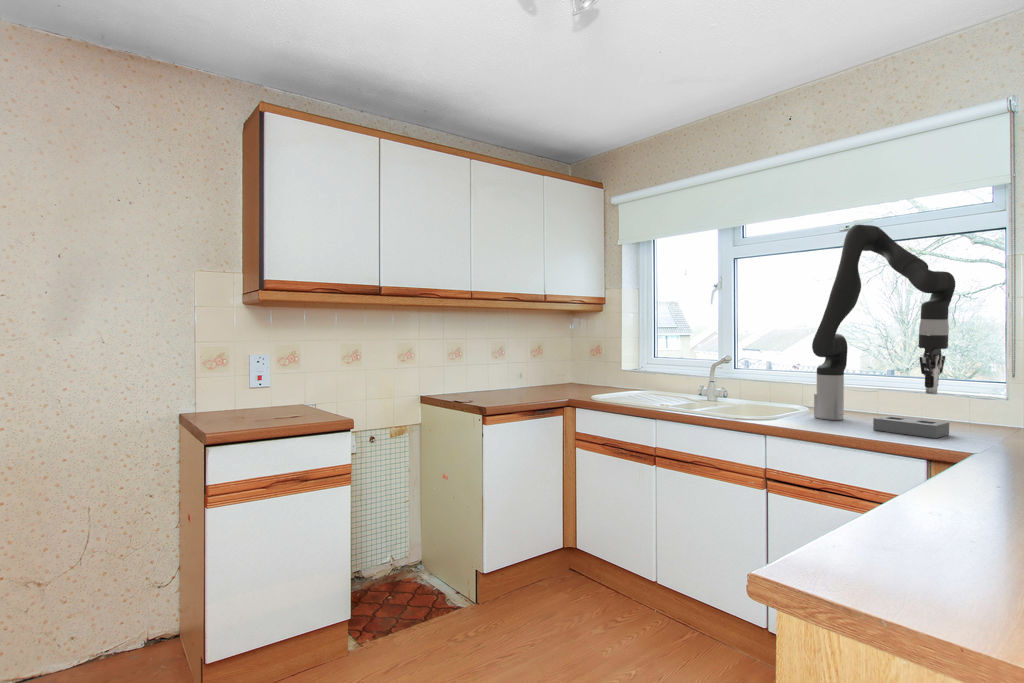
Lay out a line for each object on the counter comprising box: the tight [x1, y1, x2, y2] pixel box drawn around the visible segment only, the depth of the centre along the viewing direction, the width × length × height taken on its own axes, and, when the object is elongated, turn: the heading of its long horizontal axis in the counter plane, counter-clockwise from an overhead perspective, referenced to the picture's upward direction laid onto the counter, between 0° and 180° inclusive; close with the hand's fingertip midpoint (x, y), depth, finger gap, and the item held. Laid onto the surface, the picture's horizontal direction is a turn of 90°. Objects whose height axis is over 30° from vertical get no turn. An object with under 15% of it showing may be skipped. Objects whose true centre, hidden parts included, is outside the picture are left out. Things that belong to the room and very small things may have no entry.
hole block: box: [872, 414, 950, 439], centre depth 183 cm, size 18×11×4 cm, turn 34°
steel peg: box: [925, 365, 939, 395], centre depth 175 cm, size 3×3×9 cm
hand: (931, 386), depth 175 cm, fingers closed on steel peg, 3 cm apart
